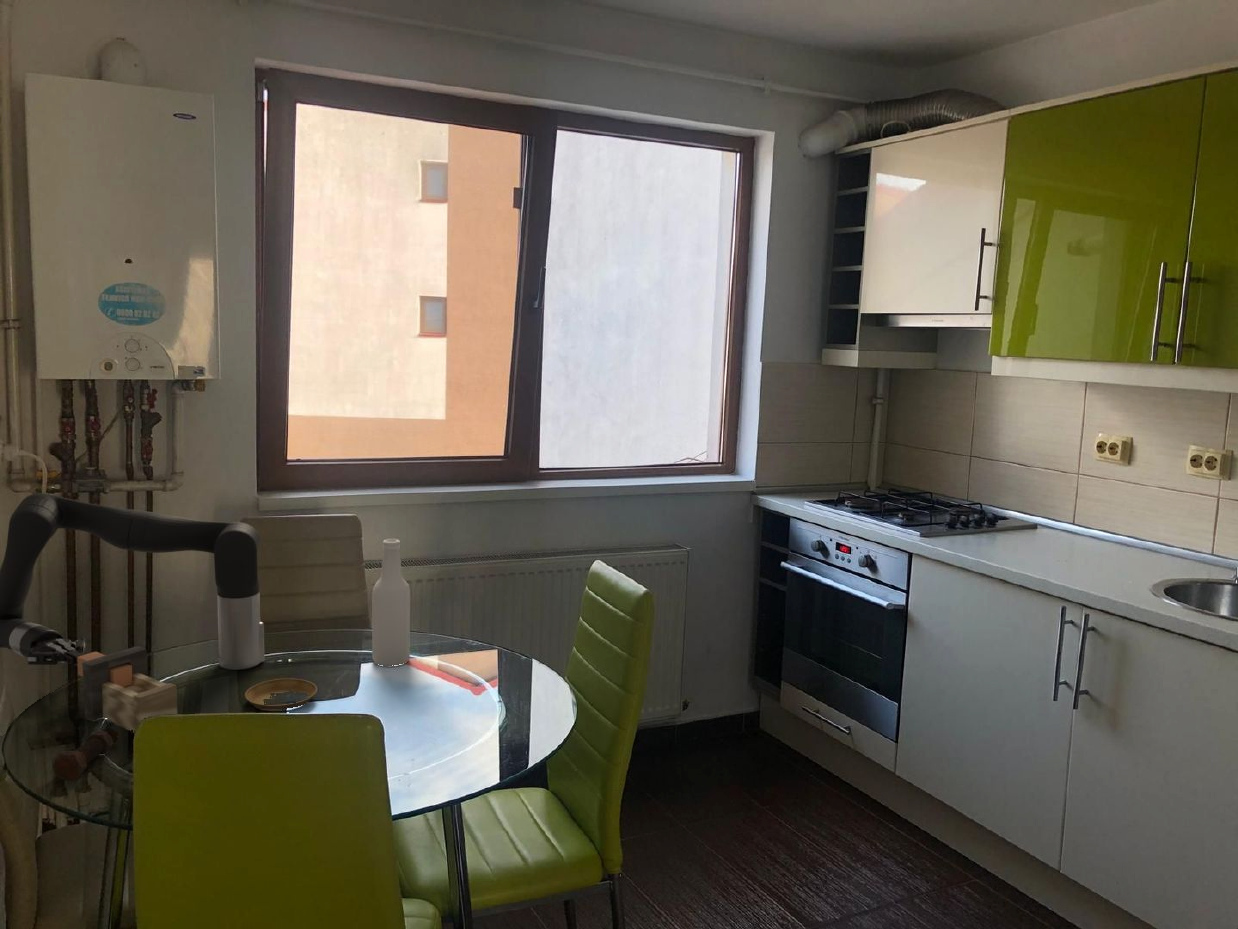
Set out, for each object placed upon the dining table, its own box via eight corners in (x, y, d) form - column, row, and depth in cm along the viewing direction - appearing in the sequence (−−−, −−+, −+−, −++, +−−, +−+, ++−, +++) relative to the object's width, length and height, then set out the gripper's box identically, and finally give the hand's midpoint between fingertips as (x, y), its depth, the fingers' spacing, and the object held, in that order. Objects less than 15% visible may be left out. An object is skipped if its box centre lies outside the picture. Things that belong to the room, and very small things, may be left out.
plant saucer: (231, 703, 215) (230, 691, 215) (290, 683, 227) (290, 672, 226) (271, 723, 207) (271, 711, 206) (331, 702, 218) (331, 690, 218)
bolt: (116, 752, 195) (71, 788, 180) (93, 739, 195) (46, 773, 180) (130, 728, 194) (86, 762, 179) (107, 715, 194) (61, 747, 179)
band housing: (85, 718, 204) (82, 662, 202) (140, 699, 214) (137, 646, 212) (131, 739, 196) (129, 681, 194) (186, 719, 206) (184, 663, 204)
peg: (78, 675, 211) (77, 656, 211) (96, 669, 215) (95, 651, 214) (114, 690, 205) (113, 671, 204) (132, 684, 208) (131, 665, 207)
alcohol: (392, 651, 248) (393, 534, 243) (417, 660, 243) (418, 540, 238) (364, 661, 241) (364, 540, 236) (389, 671, 236) (389, 547, 231)
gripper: (66, 650, 229) (110, 667, 220) (5, 667, 218) (49, 686, 209) (64, 618, 228) (108, 635, 219) (3, 634, 217) (47, 652, 208)
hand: (79, 660), depth 214 cm, fingers closed
